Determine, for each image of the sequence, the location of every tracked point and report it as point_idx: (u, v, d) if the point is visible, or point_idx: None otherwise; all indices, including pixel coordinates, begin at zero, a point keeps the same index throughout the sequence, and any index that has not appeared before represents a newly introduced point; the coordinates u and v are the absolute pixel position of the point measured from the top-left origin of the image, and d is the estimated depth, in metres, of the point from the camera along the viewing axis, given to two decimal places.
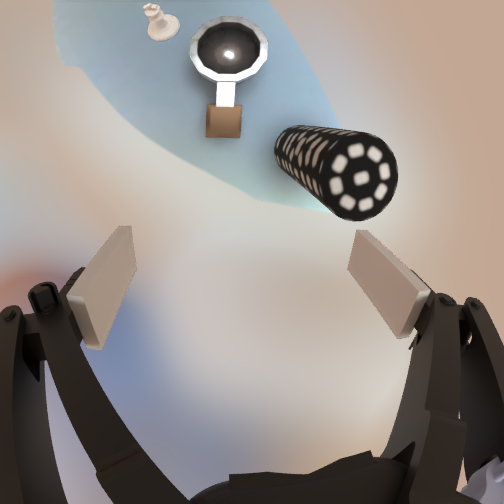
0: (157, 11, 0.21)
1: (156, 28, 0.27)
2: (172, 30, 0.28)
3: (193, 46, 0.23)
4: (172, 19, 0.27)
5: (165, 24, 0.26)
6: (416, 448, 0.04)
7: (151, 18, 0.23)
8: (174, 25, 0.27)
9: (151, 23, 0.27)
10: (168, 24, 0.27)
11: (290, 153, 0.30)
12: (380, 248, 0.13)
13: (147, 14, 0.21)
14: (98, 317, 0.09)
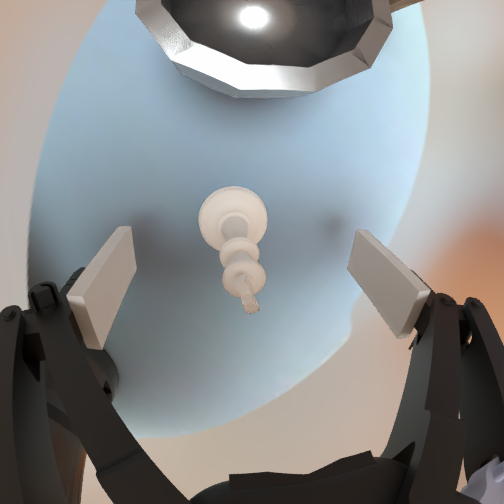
0: (242, 264, 0.12)
1: (248, 231, 0.18)
2: (232, 196, 0.18)
3: (337, 70, 0.07)
4: (208, 217, 0.18)
5: (232, 220, 0.17)
6: (416, 448, 0.04)
7: None
8: (219, 203, 0.18)
9: None
10: (226, 215, 0.18)
11: None
12: (380, 248, 0.13)
13: (262, 281, 0.12)
14: (98, 317, 0.09)
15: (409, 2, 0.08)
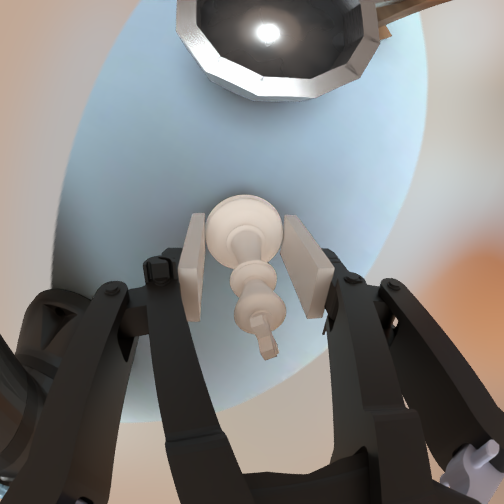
0: (259, 299, 0.10)
1: (262, 247, 0.16)
2: (243, 207, 0.16)
3: (332, 80, 0.09)
4: (216, 231, 0.16)
5: (244, 235, 0.15)
6: (370, 454, 0.04)
7: (268, 287, 0.12)
8: (228, 215, 0.16)
9: None
10: (237, 228, 0.15)
11: None
12: (299, 230, 0.15)
13: (283, 316, 0.10)
14: (199, 290, 0.12)
15: (403, 14, 0.10)
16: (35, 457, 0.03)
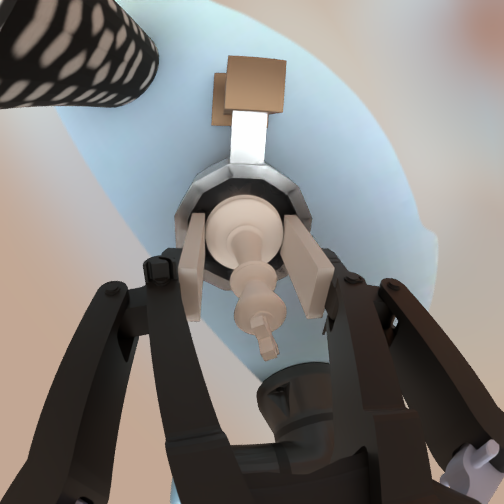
0: (259, 300, 0.10)
1: (262, 247, 0.16)
2: (244, 207, 0.15)
3: None
4: (216, 231, 0.16)
5: (244, 236, 0.15)
6: (370, 454, 0.04)
7: (269, 287, 0.12)
8: (228, 215, 0.16)
9: None
10: (237, 229, 0.15)
11: (124, 39, 0.11)
12: (299, 230, 0.15)
13: (283, 317, 0.10)
14: (199, 290, 0.12)
15: None
16: (35, 457, 0.03)
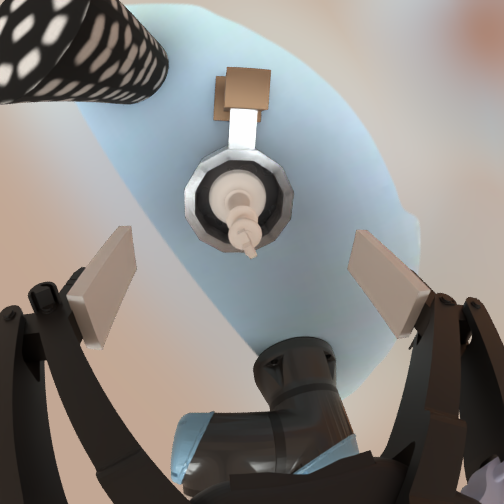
0: (243, 222, 0.16)
1: (250, 205, 0.22)
2: (236, 177, 0.22)
3: (287, 206, 0.22)
4: (217, 195, 0.22)
5: (236, 196, 0.21)
6: (416, 448, 0.04)
7: None
8: (225, 183, 0.22)
9: None
10: (231, 192, 0.21)
11: (144, 51, 0.15)
12: (380, 248, 0.13)
13: (259, 235, 0.16)
14: (98, 317, 0.09)
15: None
16: None
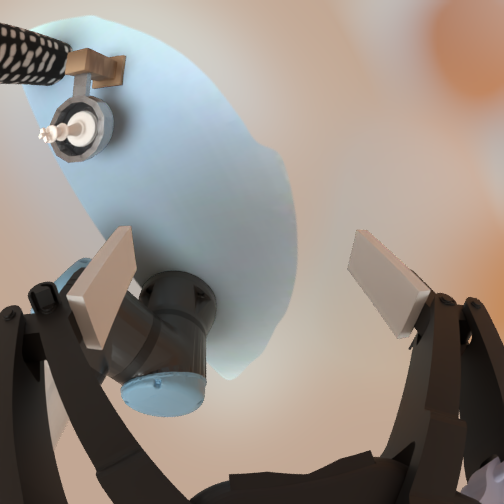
0: (48, 126, 0.20)
1: (82, 129, 0.26)
2: (78, 115, 0.26)
3: (101, 126, 0.26)
4: None
5: (73, 124, 0.25)
6: (416, 448, 0.04)
7: (64, 132, 0.22)
8: (72, 119, 0.26)
9: (82, 142, 0.28)
10: (73, 123, 0.26)
11: (40, 52, 0.19)
12: (380, 248, 0.13)
13: (55, 132, 0.20)
14: (98, 317, 0.09)
15: (102, 62, 0.25)
16: None
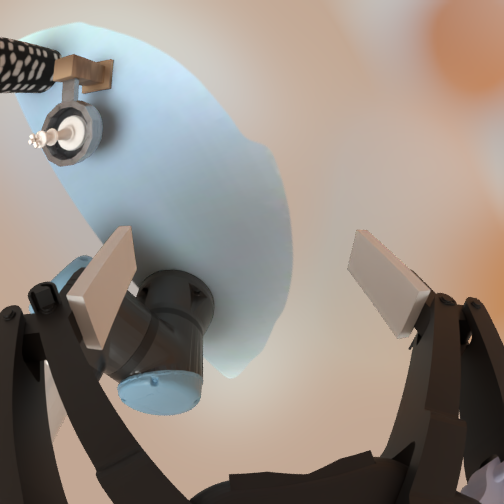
0: (38, 132, 0.20)
1: (71, 133, 0.26)
2: (67, 120, 0.26)
3: (89, 130, 0.26)
4: None
5: (63, 129, 0.25)
6: (416, 448, 0.04)
7: (54, 137, 0.23)
8: (62, 124, 0.26)
9: (73, 146, 0.28)
10: (63, 128, 0.26)
11: (29, 61, 0.19)
12: (380, 248, 0.13)
13: (44, 138, 0.21)
14: (98, 317, 0.09)
15: (90, 67, 0.25)
16: None
